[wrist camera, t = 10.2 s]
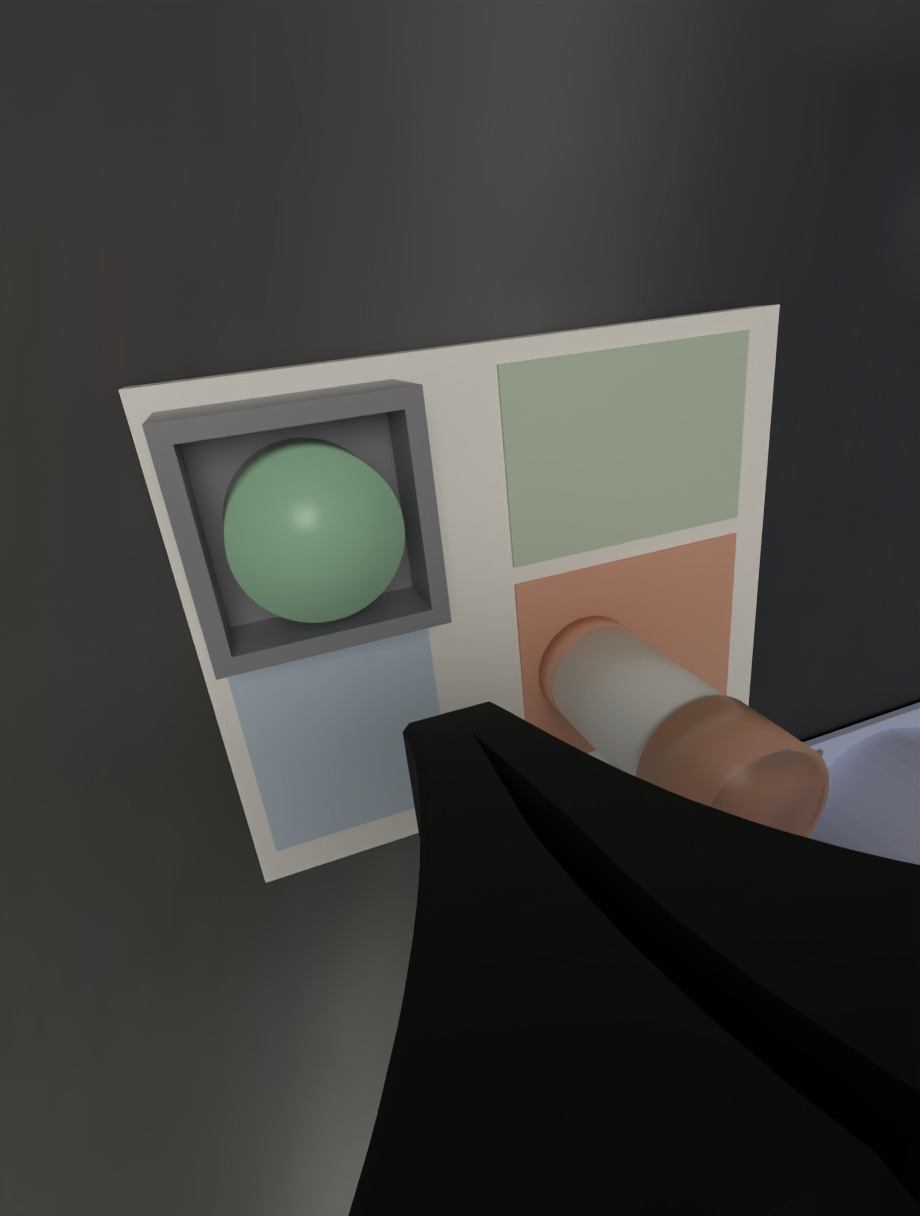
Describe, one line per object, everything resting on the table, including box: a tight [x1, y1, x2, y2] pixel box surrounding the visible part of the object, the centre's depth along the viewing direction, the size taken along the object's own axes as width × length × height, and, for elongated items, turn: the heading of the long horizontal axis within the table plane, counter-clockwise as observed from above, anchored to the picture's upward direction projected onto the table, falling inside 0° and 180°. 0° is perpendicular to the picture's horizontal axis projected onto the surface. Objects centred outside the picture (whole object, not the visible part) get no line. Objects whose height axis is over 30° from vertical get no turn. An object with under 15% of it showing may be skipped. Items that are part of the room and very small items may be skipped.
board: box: [119, 304, 780, 883], centre depth 18 cm, size 16×13×1 cm
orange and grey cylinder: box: [539, 616, 829, 838], centre depth 16 cm, size 3×3×7 cm
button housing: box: [142, 379, 452, 680], centre depth 14 cm, size 5×5×2 cm
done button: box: [223, 437, 405, 623], centre depth 14 cm, size 3×3×2 cm
